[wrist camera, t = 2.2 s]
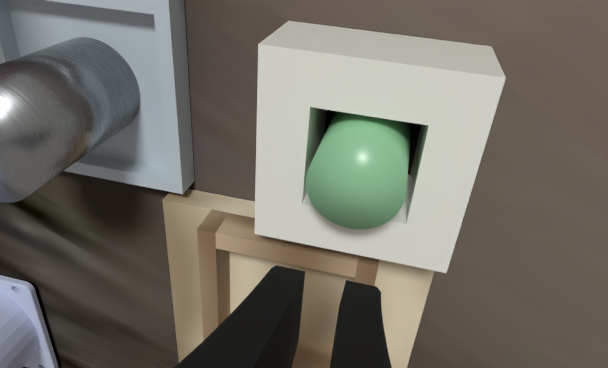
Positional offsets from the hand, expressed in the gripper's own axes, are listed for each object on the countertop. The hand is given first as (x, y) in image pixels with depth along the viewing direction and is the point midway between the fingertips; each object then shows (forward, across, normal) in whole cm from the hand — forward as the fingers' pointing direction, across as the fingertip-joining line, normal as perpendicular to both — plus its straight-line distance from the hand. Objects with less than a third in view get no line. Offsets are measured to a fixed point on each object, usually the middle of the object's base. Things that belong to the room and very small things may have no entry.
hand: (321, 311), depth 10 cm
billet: (+10, +12, 0) cm, 15 cm away
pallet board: (+10, +2, +12) cm, 15 cm away
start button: (+9, 0, 0) cm, 9 cm away
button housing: (+10, 0, 0) cm, 10 cm away
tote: (+10, +12, 0) cm, 15 cm away
